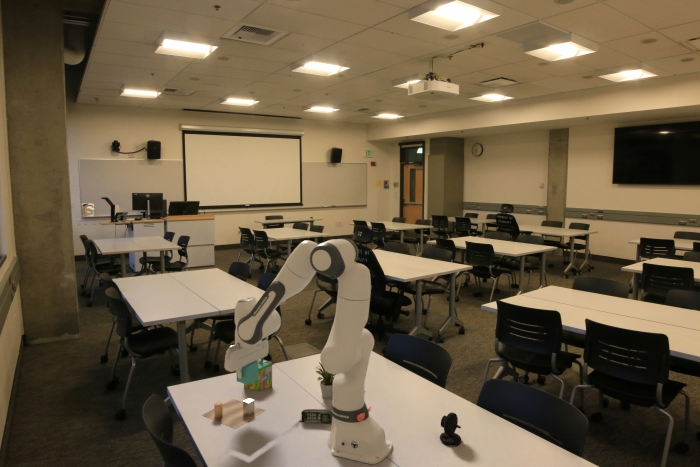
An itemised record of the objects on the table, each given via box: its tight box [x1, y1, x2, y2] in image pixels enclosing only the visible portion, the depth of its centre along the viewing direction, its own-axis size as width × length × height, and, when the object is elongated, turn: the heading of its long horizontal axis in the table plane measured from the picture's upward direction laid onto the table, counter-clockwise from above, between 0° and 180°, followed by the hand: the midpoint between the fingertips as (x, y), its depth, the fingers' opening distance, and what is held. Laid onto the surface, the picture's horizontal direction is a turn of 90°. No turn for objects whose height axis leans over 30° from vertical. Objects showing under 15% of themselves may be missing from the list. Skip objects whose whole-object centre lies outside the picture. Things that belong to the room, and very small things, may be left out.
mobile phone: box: [301, 408, 332, 425], centre depth 170 cm, size 5×3×15 cm
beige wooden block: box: [242, 397, 255, 415], centre depth 173 cm, size 3×3×5 cm
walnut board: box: [201, 398, 266, 430], centre depth 174 cm, size 18×16×2 cm
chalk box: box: [243, 357, 273, 392], centre depth 197 cm, size 9×9×15 cm
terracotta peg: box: [213, 401, 223, 418], centre depth 171 cm, size 3×3×5 cm
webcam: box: [439, 412, 462, 447], centre depth 157 cm, size 8×8×10 cm
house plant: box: [314, 361, 336, 400], centre depth 189 cm, size 14×14×16 cm
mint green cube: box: [235, 361, 258, 385], centre depth 172 cm, size 6×6×7 cm
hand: (247, 374), depth 172 cm, fingers closed on mint green cube, 6 cm apart
